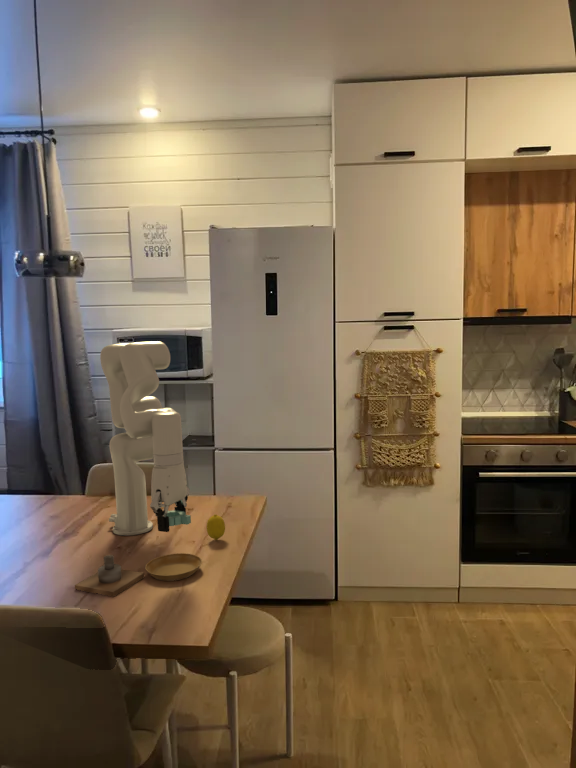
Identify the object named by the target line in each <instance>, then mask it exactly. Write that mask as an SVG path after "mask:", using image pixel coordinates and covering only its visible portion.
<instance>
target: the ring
mask: <svg viewBox="0 0 576 768" xmlns="http://www.w3.org/2000/svg"><path fill="white" fill-rule="evenodd" d="M167 516H169V527H174V526H180V525H187V526H188V525H190V524H191V523H192V517H191V516H192V515H190V514H187V513H185V512H184V511H178V510H177V511H176V510H175V509H173V510H168V513H167Z"/></svg>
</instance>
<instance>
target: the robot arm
mask: <svg viewBox="0 0 576 768" xmlns="http://www.w3.org/2000/svg"><path fill="white" fill-rule="evenodd" d="M99 360H100V365H101V368H102V371H103V374H104V376H105V378H106V382H107V384H108V388H109V399H110V400H109V401H110V402H109V403H110V410H111V411H110V412H111V413H110V414H111V419H112V423H113V425H114V426H115V427H116V428H118V429H124V430H125V432H121V433H117V434H115V435H114V436H112V437H111V438H110V440H109V443H108V444H109V452H110V457H111V462H112V468H113V476H114V490H115V505H116V506H115V507H116V513H112V514H110V517H109V518H108V521H109V522H111V523H114V526H113V527H112V532H113V534H115V535H118V536H124V537H125V536H137V535H141V534H144V533H148V532H150V531H151V530H153V528H154V524H153V522H152V521H151V520H149V519H148V515H149V514H148V503H147V502H148V501H147V500H148V499H147V486H146V485H147V484H146V474H145V472H144V470H143V469H142V468H141V467H140V465H138V464H137V462H142V461H147V460H153V467H152V471H151V482H150V483H151V488H150V489H151V492H150V496H151V498H150V499H151V502H150V505H149V507H150V509H151V510H152V512H153V513H154V516H155V517H156V519H157V521H156V522H157V531H158V532H165V533H169V532H170V526H169V516H167V513H168V511H169V508H170V506H172V505H174V504H175V506H174V510H176V511H177V510H178V511H184V512H185V513H186V512H187V510H186V509H187V508H186V507H187V506H188V503H187V502H188V498H189V495H190V488H189V486H187V485H188V484H187V482H188V481H187V475H186V469H185V465H184V448H183V447H184V446H183V445H184V444H183V430H182V428H183V426H182V416H181V414H180V412H178V411H176V410H175V409H174V408H171V407H163V405H162V403H161V401H160V399H159V398H157V397H156V396H152V394H153V393H154V392H156V391H157V389H158V388H159V385H160V379H159V377H158V374H157V371H156V370H165V369H168V367H169V366H170V363H171V353H170V350H169V347H168V346H167V345H166V343H165V342H162V341H160V340H159V341H158V340H157V341H136V342H123V343H114V344H108V345H106V346H104V347H103V348H102V349H101V351H100V359H99ZM162 508H163V509H162ZM186 514H187V513H186Z"/></svg>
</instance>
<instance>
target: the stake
mask: <svg viewBox="0 0 576 768" xmlns="http://www.w3.org/2000/svg"><path fill="white" fill-rule="evenodd" d="M103 564H104V565H102V566H100V567H98V569H97V572H96V573H94V574H92V575H90V576H89V577H86V578H85V579H82V580H81V581H79V582H78V583H76V584H74V589H77V590H76V591H80V590H81V592H85V591H86V593H91V594H96V593H98V594H97V595H101V594H102V595H101V596H107V595H108V597H112V596H113V598H114V597H116V596H117V595H119V594H120V593H122V592H124V591H125V590H127V589H128V588H130V587H132V586H133V585H134V584H136V583H138V582H139V581H141V580H143V579H144V578H145V572H142V571H141V572H140V571H134V570H129V569H123V568H122V566H121V565H120V564H117V563H115V556H114V555H113V554H109V555H108V554H107V555H105V556H103ZM123 590H124V591H123ZM115 595H116V596H115Z"/></svg>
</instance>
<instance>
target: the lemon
mask: <svg viewBox="0 0 576 768" xmlns="http://www.w3.org/2000/svg"><path fill="white" fill-rule="evenodd" d="M225 531H226V524H225V521H224V519H223V517H222V516H220V515H217V514H213V515H212V516H210V517H209V518H208V519H207V522H206V532H207V533H206V534H208V536H209V538H211V539H213V540H215V541H218V540H219V539H220V538H222V537H223V536H224V534H225Z"/></svg>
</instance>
